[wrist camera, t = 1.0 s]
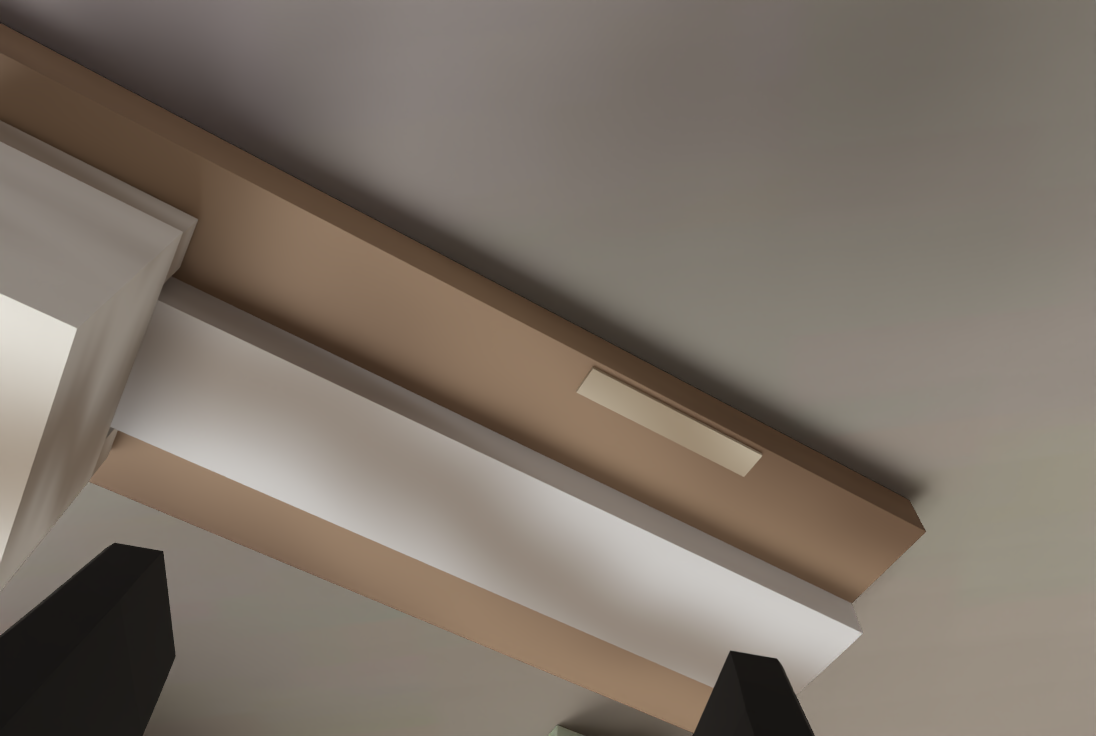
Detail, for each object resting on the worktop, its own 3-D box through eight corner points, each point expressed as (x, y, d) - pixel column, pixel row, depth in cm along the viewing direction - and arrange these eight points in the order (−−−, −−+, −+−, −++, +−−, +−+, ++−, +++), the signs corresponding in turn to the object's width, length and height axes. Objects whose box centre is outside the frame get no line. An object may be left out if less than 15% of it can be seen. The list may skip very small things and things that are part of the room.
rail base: (704, 704, 26) (738, 924, 20) (-139, 345, 20) (-395, 515, 15) (909, 500, 22) (1018, 706, 16) (-72, -15, 16) (-389, 40, 11)
